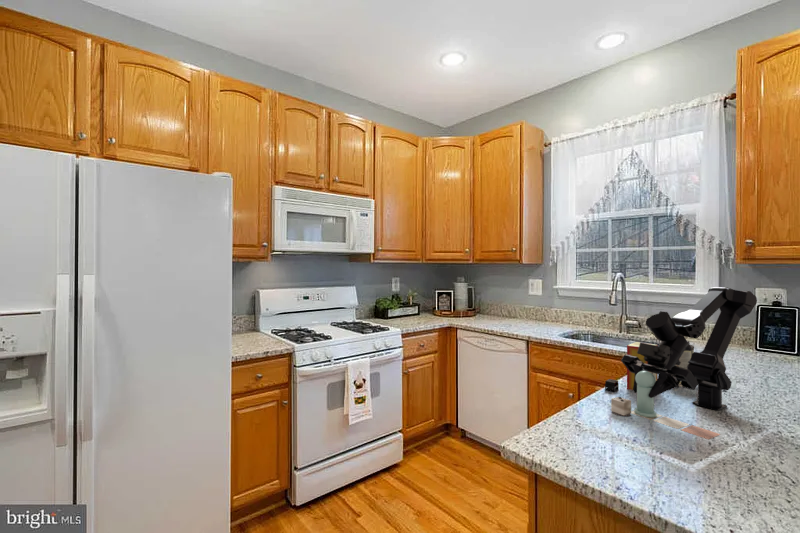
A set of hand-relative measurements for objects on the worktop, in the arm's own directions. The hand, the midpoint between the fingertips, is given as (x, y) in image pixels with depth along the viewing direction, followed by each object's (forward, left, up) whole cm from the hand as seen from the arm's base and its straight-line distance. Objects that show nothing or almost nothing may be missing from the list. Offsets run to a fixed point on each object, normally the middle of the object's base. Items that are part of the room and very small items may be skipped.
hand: (641, 394), depth 104 cm
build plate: (-13, -17, -7) cm, 23 cm away
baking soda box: (-25, -13, -7) cm, 29 cm away
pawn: (-1, 0, -6) cm, 6 cm away
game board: (-3, +6, -7) cm, 9 cm away
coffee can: (-45, -13, -7) cm, 48 cm away
